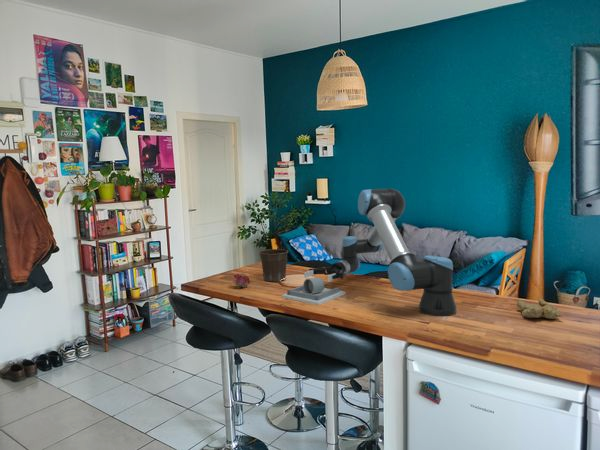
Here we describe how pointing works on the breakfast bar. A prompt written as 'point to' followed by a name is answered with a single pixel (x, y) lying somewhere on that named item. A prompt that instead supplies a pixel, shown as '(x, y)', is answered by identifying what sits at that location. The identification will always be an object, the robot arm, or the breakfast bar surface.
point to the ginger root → (539, 309)
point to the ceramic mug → (313, 285)
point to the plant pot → (274, 264)
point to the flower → (241, 280)
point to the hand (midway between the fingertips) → (316, 276)
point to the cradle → (313, 295)
